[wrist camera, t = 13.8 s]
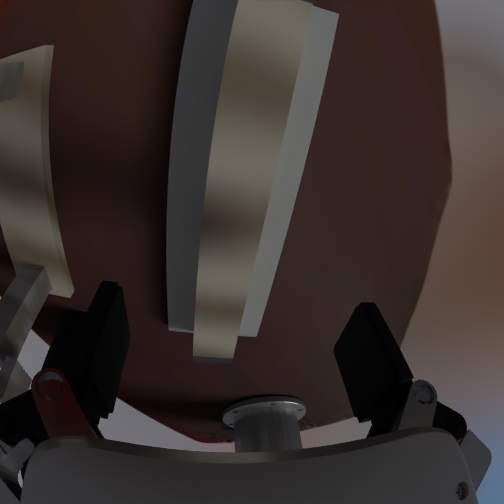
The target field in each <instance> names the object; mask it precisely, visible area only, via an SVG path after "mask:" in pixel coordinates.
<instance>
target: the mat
mask: <svg viewBox="0 0 504 504" xmlns="http://www.w3.org/2000/svg"><path fill="white" fill-rule="evenodd" d="M237 3H238V0H193V4H192V9H191V13H190V18H189V22H188V27H187V32H186V37H185V42H184V48H183V53H182V59H181V65H180V72H179V78H178V85H177V93H176V100H175V108H174V117H173V127H172V137H171V148H170V161H169V177H168V196H167V231H166V269H167V304H168V323H169V330H171V331H181V332H191V333H194V321H195V303H196V288H197V274H198V261H199V249H200V238H201V227H202V218H203V208H204V199H205V190H206V182H207V174H208V166H209V158H210V151H211V144H212V137H213V130H214V123H215V117H216V111H217V105H218V98H219V93H220V87H221V81H222V76H223V70H224V65H225V60H226V54H227V49H228V44H229V40H230V35H231V30H232V25H233V21H234V16H235V12H236V8H237ZM338 16H339V14H337V13H334V12H331V11H328V10H324V9H321V8H318V7H315V6H312V9H311V14H310V19H309V23H308V28H307V33H306V37H305V42H304V46H303V51H302V56H301V60H300V65H299V69H298V74H297V78H296V83H295V88H294V92H293V97H292V101H291V106H290V110H289V115H288V119H287V124H286V128H285V133H284V137H283V141H282V146H281V150H280V155H279V159H278V164H277V168H276V173H275V177H274V181H273V186H272V190H271V195H270V199H269V204H268V208H267V212H266V217H265V221H264V225H263V230H262V234H261V239H260V243H259V247H258V252H257V256H256V260H255V265H254V269H253V273H252V278H251V282H250V286H249V291H248V295H247V299H246V303H245V308H244V312H243V316H242V321H241V325H240V329H239V333H238V336H255V337H256V336H257V333H258V330H259V326H260V323H261V320H262V317H263V313H264V310H265V306H266V303H267V300H268V296H269V293H270V289H271V286H272V283H273V279H274V276H275V272H276V269H277V265H278V262H279V258H280V255H281V251H282V247H283V244H284V240H285V237H286V233H287V229H288V226H289V222H290V218H291V215H292V211H293V207H294V203H295V200H296V196H297V192H298V188H299V184H300V181H301V177H302V173H303V169H304V165H305V161H306V157H307V153H308V149H309V145H310V141H311V137H312V133H313V129H314V125H315V121H316V116H317V112H318V108H319V104H320V99H321V95H322V91H323V86H324V82H325V78H326V73H327V69H328V64H329V60H330V55H331V50H332V46H333V41H334V36H335V31H336V26H337V21H338Z"/></svg>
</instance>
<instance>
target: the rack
mask: <svg viewBox="0 0 504 504" xmlns="http://www.w3.org/2000/svg"><path fill="white" fill-rule="evenodd" d="M53 49H54V45H44V46H41V47H37V48H33V49H30V50H27V51H24V52H20V53H17V54H15V55H12V56H9V57H6V58H3V59H1V60H0V224H1V227H2V231H3V235H4V238H5V242H6V245H7V248H8V251H9V254H10V257H11V260H12V263H13V266H14V269H15V272H16V274H17V275H16V277H15V278H14V280H13V281H12V283H11V284H10V286H9V287H8V289H7V290H6V292H5V293H4V295H3V296H2V298H1V300H0V367H1V370H0V403H3V402H6V401H8V400H10V399H12V398H14V397H16V396H18V395H20V394H22V393H24V392H26V391H28V389H29V387H30V384H31V381H32V379H31V378H30V377H29V376H28V374H27V373H26V372H25V370H24V369H23V368H22V366H21V365H20V364H19V362H18V361H17V358H18V355H19V353H20V351H21V349H22V346H23V344H24V342H25V340H26V337H27V335H28V333H29V331H30V329H31V327H32V325H33V323H34V321H35V319H36V317H37V315H38V313H39V311H40V309H41V307H42V306H43V304H44V302H45V300H46V298H47V296H48V295H49V294H53V295H58V296H64V297H69V298H71V296H72V294H73V292H74V287H73V284H72V280H71V277H70V273H69V269H68V266H67V262H66V258H65V253H64V249H63V245H62V240H61V235H60V230H59V225H58V219H57V214H56V207H55V201H54V193H53V185H52V176H51V165H50V151H49V89H50V75H51V65H52V56H53Z"/></svg>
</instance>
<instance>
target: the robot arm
mask: <svg viewBox="0 0 504 504" xmlns="http://www.w3.org/2000/svg"><path fill="white" fill-rule="evenodd" d="M129 343H130V330H129V325H128V320H127V314H126V308H125V302H124V296H123V289H122V287H118V284H117V282H110V281H102V282H101V284H100V286H99V288H98V290H97V292H96V294H95V296H94V298H93V300H92V302H91V305H90V307H89V309H88V311H87V312H82V313H81V314H80V315H79V317H78V319H77V321H76V324H75V326H74V328H73V330H72V332H71V335H70V337H69V339H68V342H67V344H66V346H65V349H64V351H63V354H62V356H61V359H60V361H59V364H58V366H57V369H54V368H46V369H43V370H41V371H40V372H38V373H37V374H36V375H35V376H34V378H33V380H32V384H31V389H30V390H28V391H26V392H24V393H22V394H20V395H18V396H16V397H14V398H12V399H10V400H8V401H6V402H3V403H1V404H0V504H478V500H477V496H476V491H477V489H478V487H479V485H480V483H481V482H482V480H483V477H484V476H485V474H486V472H487V470H488V467H489V465H490V463H491V453H490V450H489V449H488V448H487V447H486V446H485V445H484V444H483V443H482V442H481V441H480V440H479V439H478V438H477V437H476V436H475V435H474V434H473V433H472V432H471V431H470V430H468V431H467V425H466V421H465V419H464V418H463V417H462V415H460V414H459V413H457V412H456V411H454V410H452V409H450V408H449V407H447V406H445V405H443V404H442V403H440V402H438V401H437V393H436V390H435V388H434V387H433V386H432V385H431V384H430V383H429V382H427V381H424V380H417V381H415V382H414V383H413V382H412V379H413V378H414V377H413V375H412V373H411V371H410V368H409V366H408V364H407V362H406V361H405V358H404V357H403V354H402V352H401V350H400V348H399V347H398V345H397V343H396V341H395V339H394V337H393V335H392V333H391V331H390V329H389V328H388V326H387V324H386V322H385V320H384V318H383V317H382V315H381V313H380V311H379V309H378V308H377V306H376V304H375V303H370V302H362V303H360V304H359V306H356V308H355V310H354V312H353V314H352V315H351V317H350V319H349V321H348V323H347V325H346V327H345V329H344V330H343V332H342V334H341V336H340V338H339V339H338V341H337V343H336V345H335V347H334V355H335V358H336V361H337V364H338V367H339V370H340V373H341V376H342V379H343V382H344V385H345V388H346V391H347V394H348V397H349V401H350V404H351V407H352V410H353V413H354V416H355V417H357V418H358V421H359V423H362V422H367V421H370V420H371V423H372V426H371V428H370V430H369V433H368V435H367V437H366V438H365V439H361V440H355V441H350V442H345V443H340V444H334V445H327V446H321V447H314V448H305V449H303V448H302V443H301V437H300V432H299V426H298V421H297V420H299V419H301V418H302V417H303V416H304V414H305V413H306V407H305V404H304V402H303V401H301V400H299V399H297V398H293V397H287V396H266V397H258V398H252V399H247V400H243V401H240V402H237V403H235V404H232V405H230V406H229V407H227V408H226V409H225V410H224V411H223V422H224V423H225V424H226V425H228V426H230V427H232V428H234V441H235V453H229V452H225V453H224V452H200V451H186V450H176V449H167V448H159V447H151V446H144V445H137V444H131V443H126V442H120V441H113V440H108V439H105V438H104V437H103V435H102V433H101V431H100V430H99V428H98V426H97V425H98V424H99V420H100V417H101V418H105V419H108V414H109V413H113V410H114V406H115V401H116V396H117V392H118V387H119V383H120V379H121V374H122V370H123V366H124V362H125V358H126V354H127V351H128V347H129ZM27 458H30V459H29V461H28V464H27V468H26V471H25V476H24V480H23V486H22V488H21V487H20V485H19V482H18V473H19V471H20V470H21V468H22V467H23V466H24V465H23V463H24V462H25V460H26V459H27Z"/></svg>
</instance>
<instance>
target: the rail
mask: <svg viewBox="0 0 504 504" xmlns="http://www.w3.org/2000/svg"><path fill="white" fill-rule="evenodd" d="M312 5H313V0H238V3H237V8H236V12H235V16H234V21H233V25H232V30H231V35H230V40H229V44H228V49H227V54H226V60H225V65H224V70H223V76H222V81H221V87H220V93H219V98H218V105H217V111H216V117H215V123H214V130H213V137H212V144H211V151H210V158H209V166H208V174H207V182H206V190H205V199H204V208H203V218H202V227H201V238H200V249H199V261H198V274H197V288H196V303H195V321H194V343H193V361H198V362H212V363H230V364H231V363H232V359H233V355H234V350H235V346H236V342H237V338H238V333H239V329H240V325H241V321H242V316H243V312H244V308H245V303H246V299H247V295H248V291H249V286H250V282H251V278H252V273H253V269H254V265H255V260H256V256H257V252H258V247H259V243H260V239H261V234H262V230H263V225H264V221H265V217H266V212H267V208H268V204H269V199H270V195H271V190H272V186H273V181H274V177H275V173H276V168H277V164H278V159H279V155H280V150H281V146H282V141H283V137H284V133H285V128H286V124H287V119H288V115H289V110H290V106H291V101H292V97H293V92H294V88H295V83H296V78H297V74H298V69H299V65H300V60H301V56H302V51H303V46H304V42H305V37H306V33H307V28H308V23H309V19H310V14H311V9H312Z"/></svg>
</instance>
